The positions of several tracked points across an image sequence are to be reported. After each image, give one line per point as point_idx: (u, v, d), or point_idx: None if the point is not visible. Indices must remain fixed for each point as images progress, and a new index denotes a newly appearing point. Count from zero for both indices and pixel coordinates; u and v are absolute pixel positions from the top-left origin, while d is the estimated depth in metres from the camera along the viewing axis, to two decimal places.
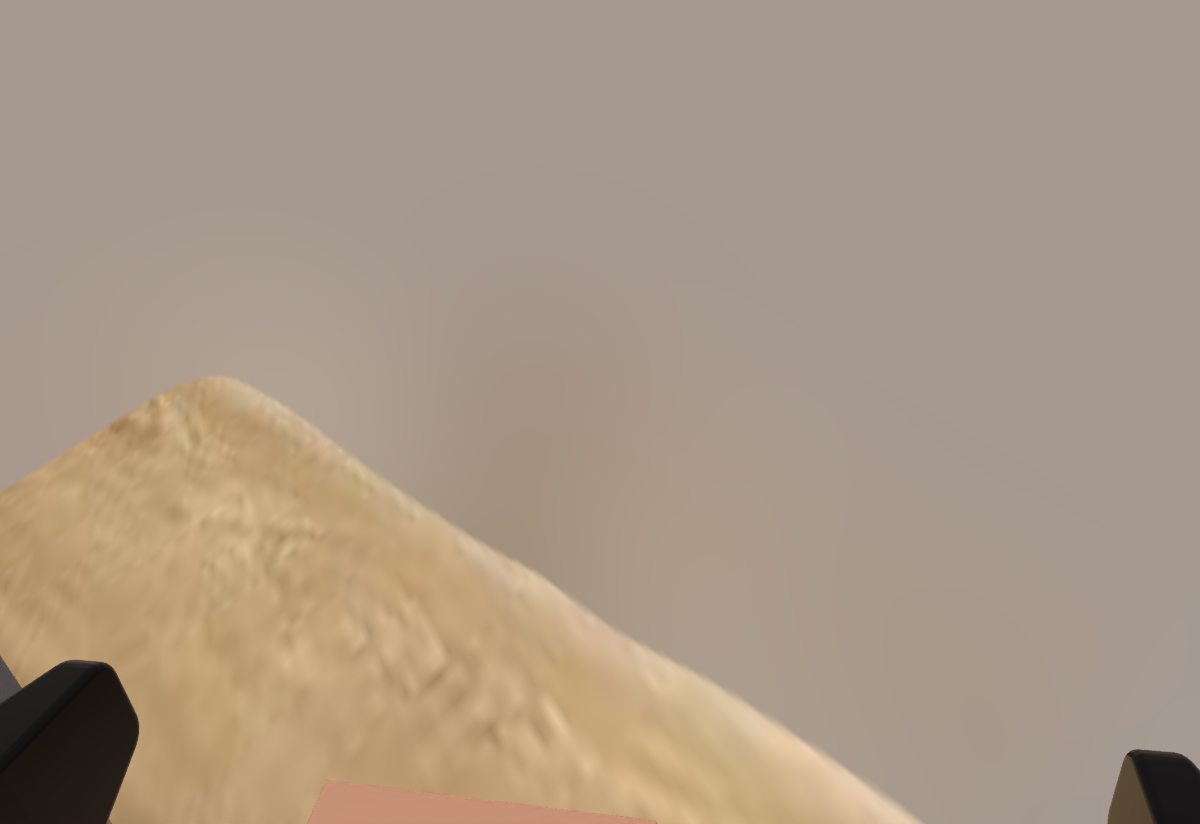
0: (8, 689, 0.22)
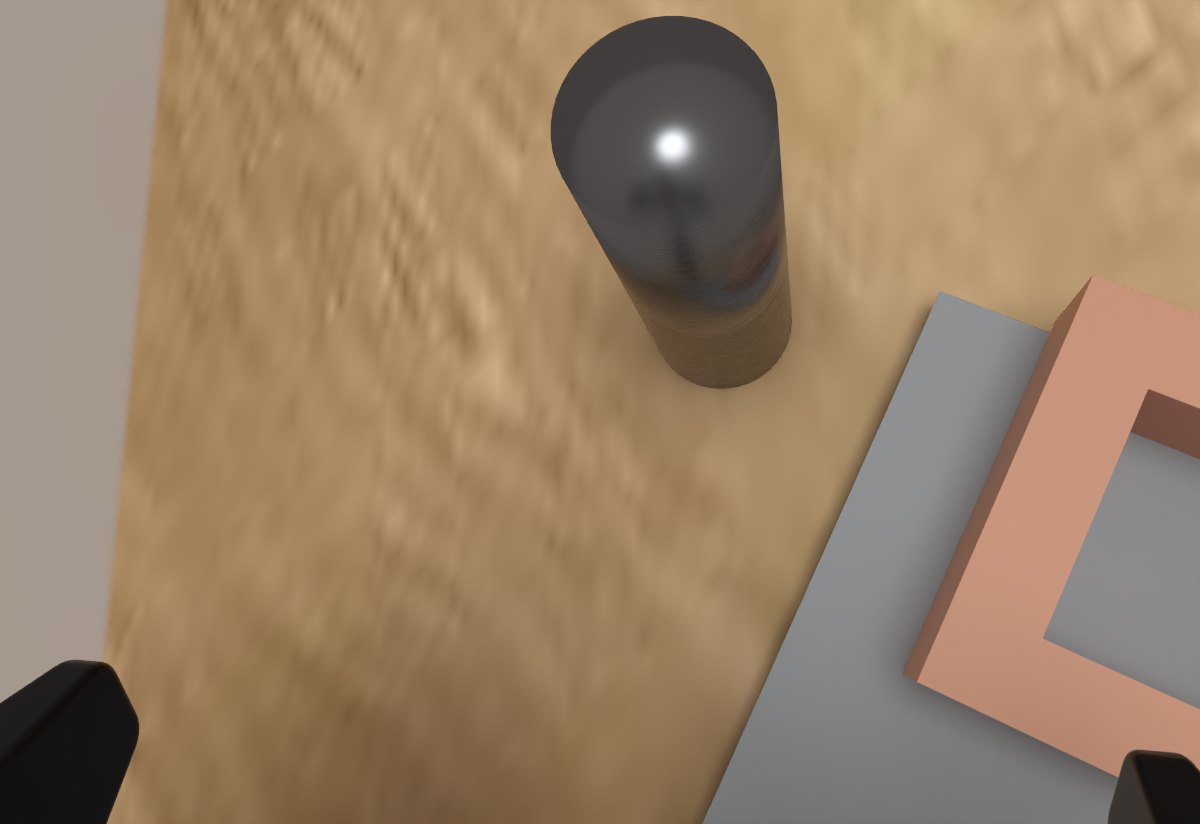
0: None
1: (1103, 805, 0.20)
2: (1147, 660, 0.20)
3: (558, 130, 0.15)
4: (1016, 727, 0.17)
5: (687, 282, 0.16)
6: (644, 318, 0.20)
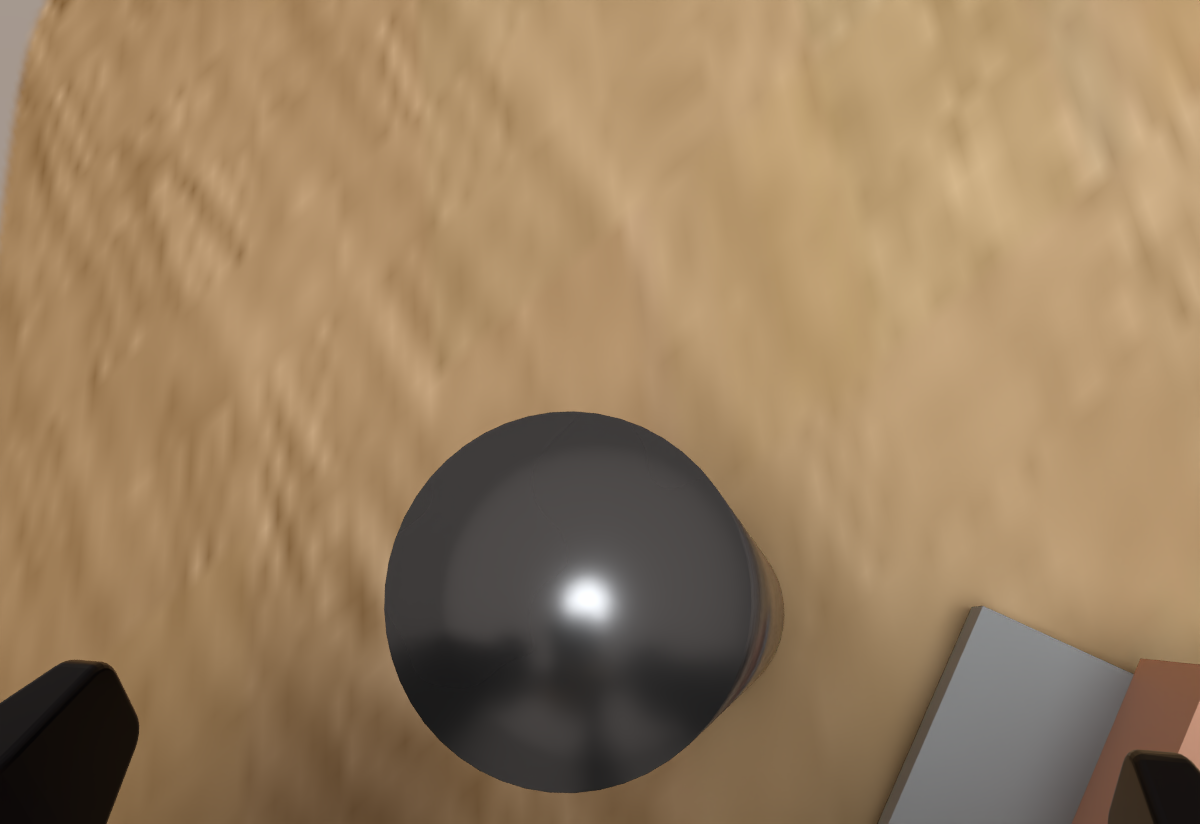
0: (759, 600, 0.10)
1: None
2: None
3: (397, 598, 0.09)
4: None
5: None
6: None
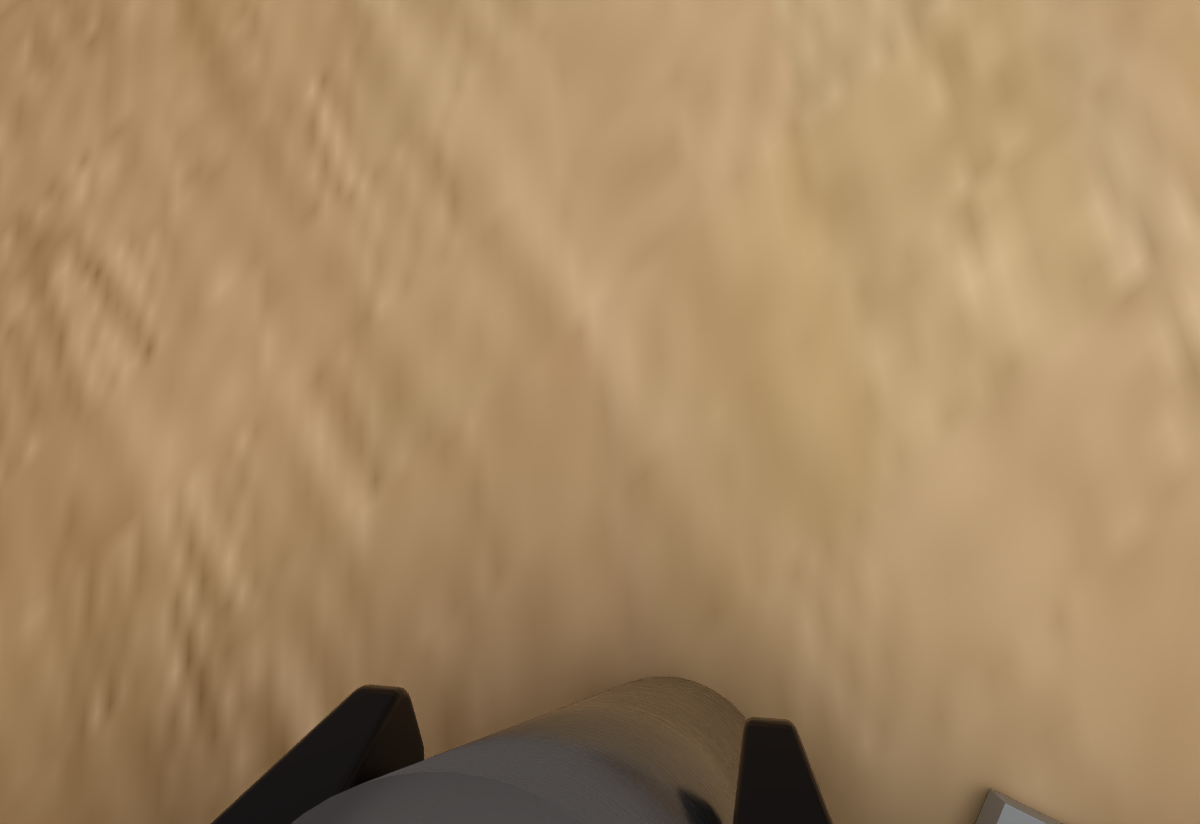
0: None
1: None
2: None
3: None
4: None
5: None
6: None
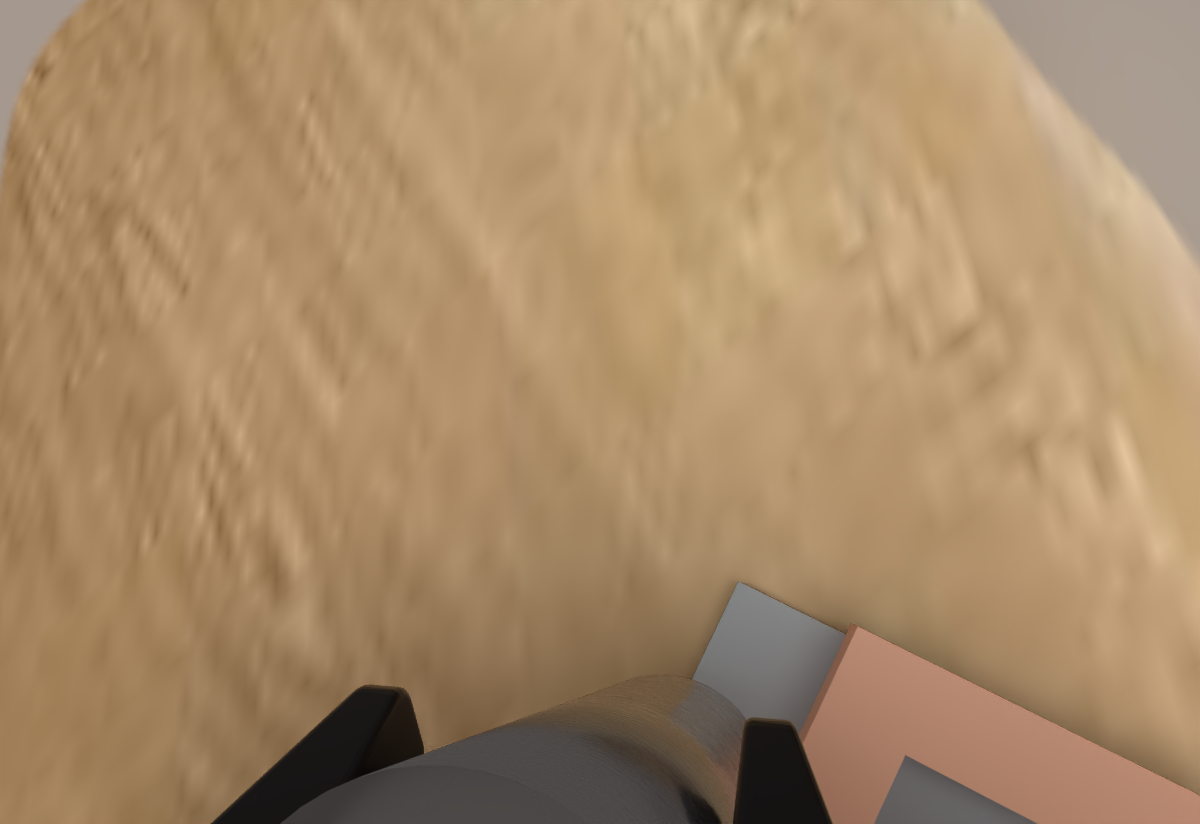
0: None
1: None
2: None
3: None
4: None
5: None
6: None
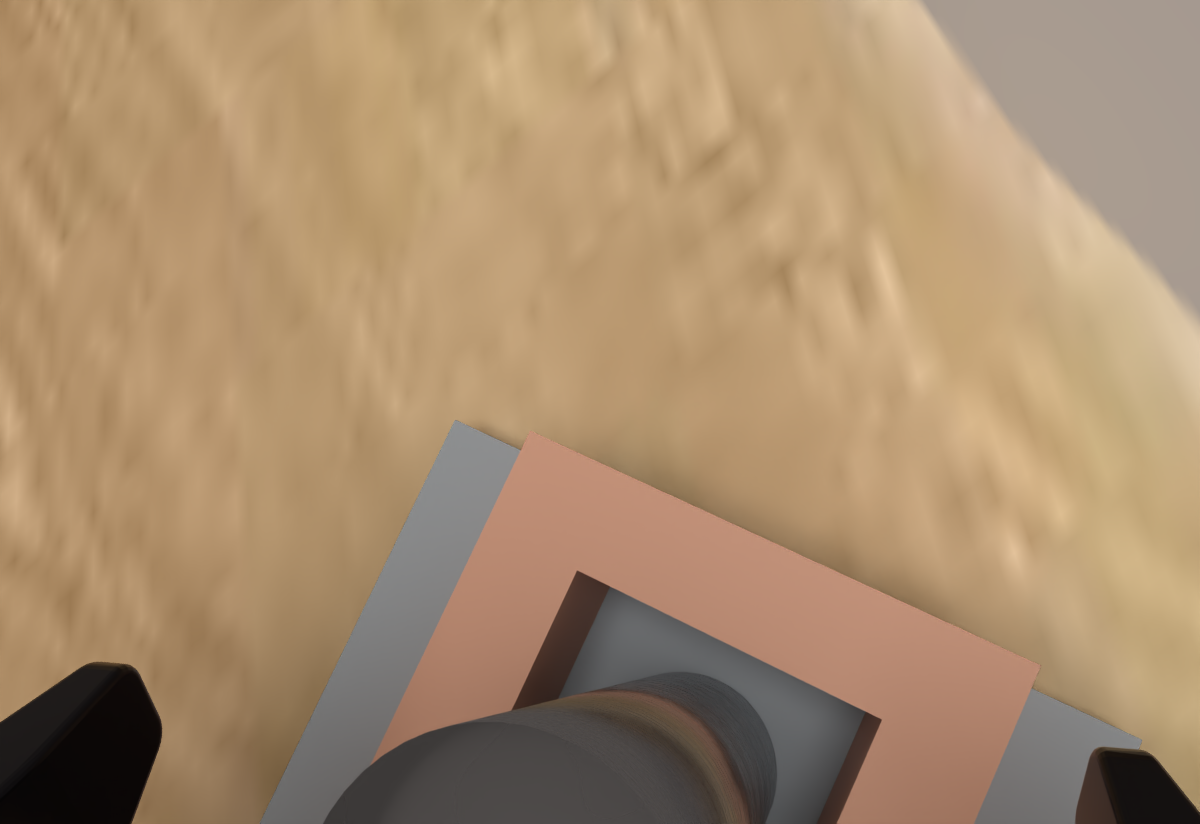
0: None
1: None
2: None
3: None
4: None
5: None
6: None
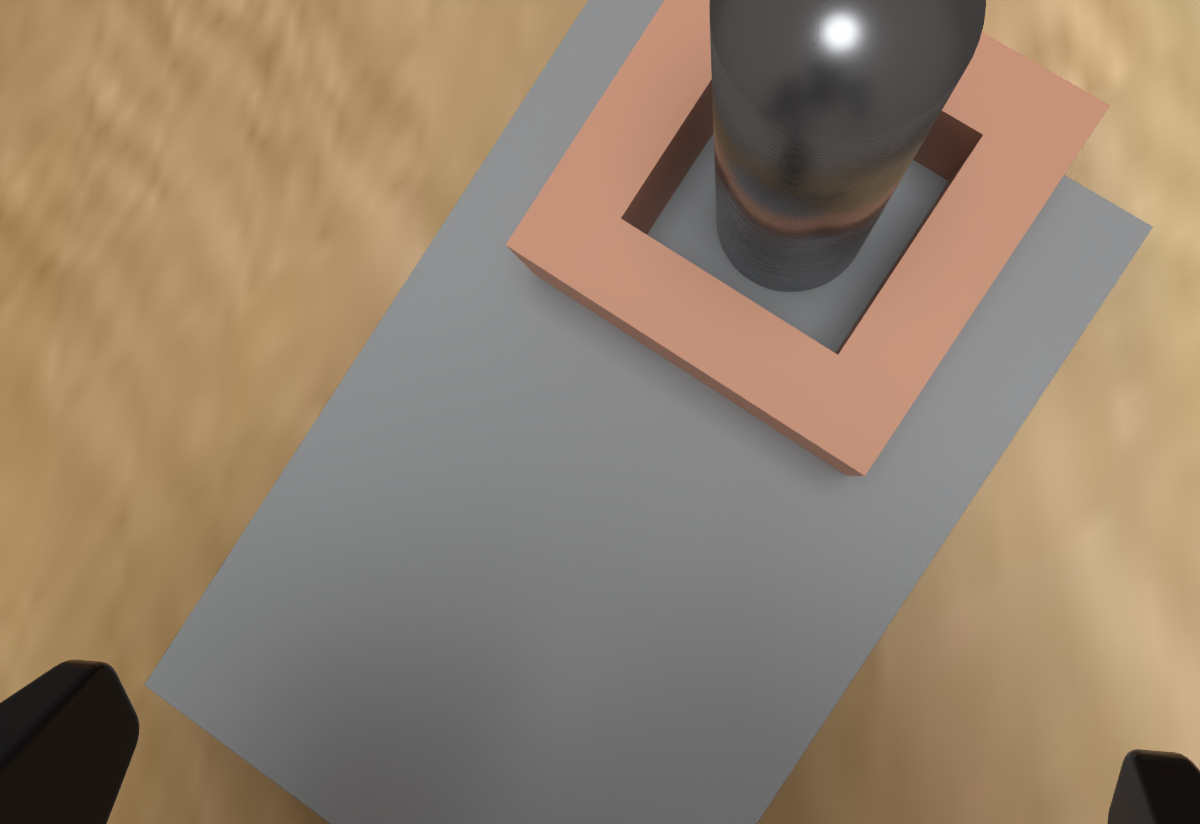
0: None
1: (684, 406, 0.22)
2: (748, 286, 0.22)
3: None
4: (582, 292, 0.19)
5: (815, 192, 0.14)
6: (729, 211, 0.18)
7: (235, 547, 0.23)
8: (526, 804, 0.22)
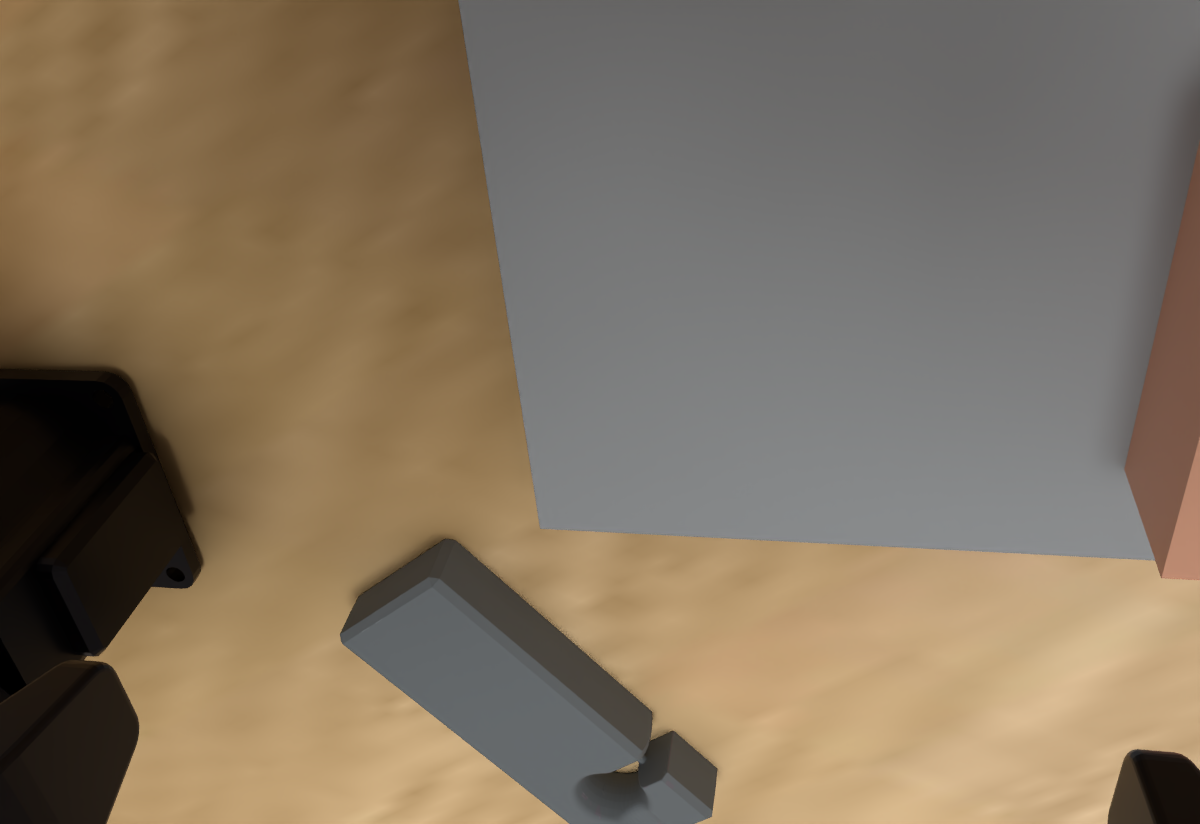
0: None
1: (1122, 311, 0.19)
2: None
3: None
4: None
5: None
6: None
7: None
8: (649, 383, 0.22)
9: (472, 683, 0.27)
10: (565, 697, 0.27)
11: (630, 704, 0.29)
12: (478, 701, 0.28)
